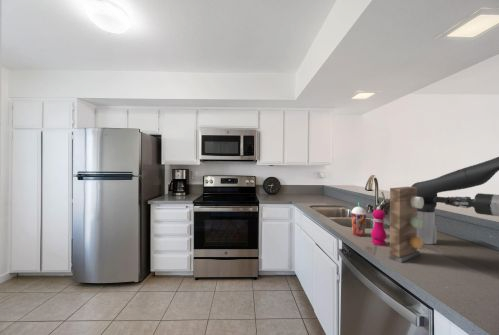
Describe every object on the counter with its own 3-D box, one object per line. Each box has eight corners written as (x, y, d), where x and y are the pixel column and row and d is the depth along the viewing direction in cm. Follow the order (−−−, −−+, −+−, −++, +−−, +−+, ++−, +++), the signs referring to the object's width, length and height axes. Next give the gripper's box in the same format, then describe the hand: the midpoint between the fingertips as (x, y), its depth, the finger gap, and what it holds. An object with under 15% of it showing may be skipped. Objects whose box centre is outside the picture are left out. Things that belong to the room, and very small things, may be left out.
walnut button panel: (419, 254, 102) (420, 187, 102) (401, 262, 93) (401, 189, 93) (407, 251, 106) (408, 186, 106) (389, 258, 98) (389, 188, 97)
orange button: (423, 248, 96) (423, 237, 95) (418, 250, 93) (418, 238, 93) (415, 246, 98) (415, 235, 98) (410, 248, 96) (410, 236, 96)
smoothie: (365, 237, 125) (365, 203, 125) (350, 235, 130) (350, 202, 130) (366, 234, 132) (366, 201, 132) (351, 231, 137) (351, 200, 137)
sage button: (423, 228, 95) (423, 216, 95) (418, 229, 93) (418, 218, 93) (415, 226, 98) (415, 215, 98) (410, 227, 96) (410, 216, 96)
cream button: (423, 207, 95) (423, 196, 95) (418, 209, 93) (418, 197, 93) (415, 206, 98) (415, 195, 98) (410, 207, 95) (410, 196, 95)
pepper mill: (388, 246, 112) (389, 208, 112) (373, 245, 113) (374, 207, 113) (383, 241, 119) (383, 205, 119) (369, 240, 121) (369, 205, 120)
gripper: (501, 193, 78) (440, 189, 93) (489, 195, 72) (427, 191, 87) (501, 213, 78) (440, 206, 93) (490, 218, 72) (427, 209, 87)
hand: (434, 199), depth 90 cm, fingers closed
